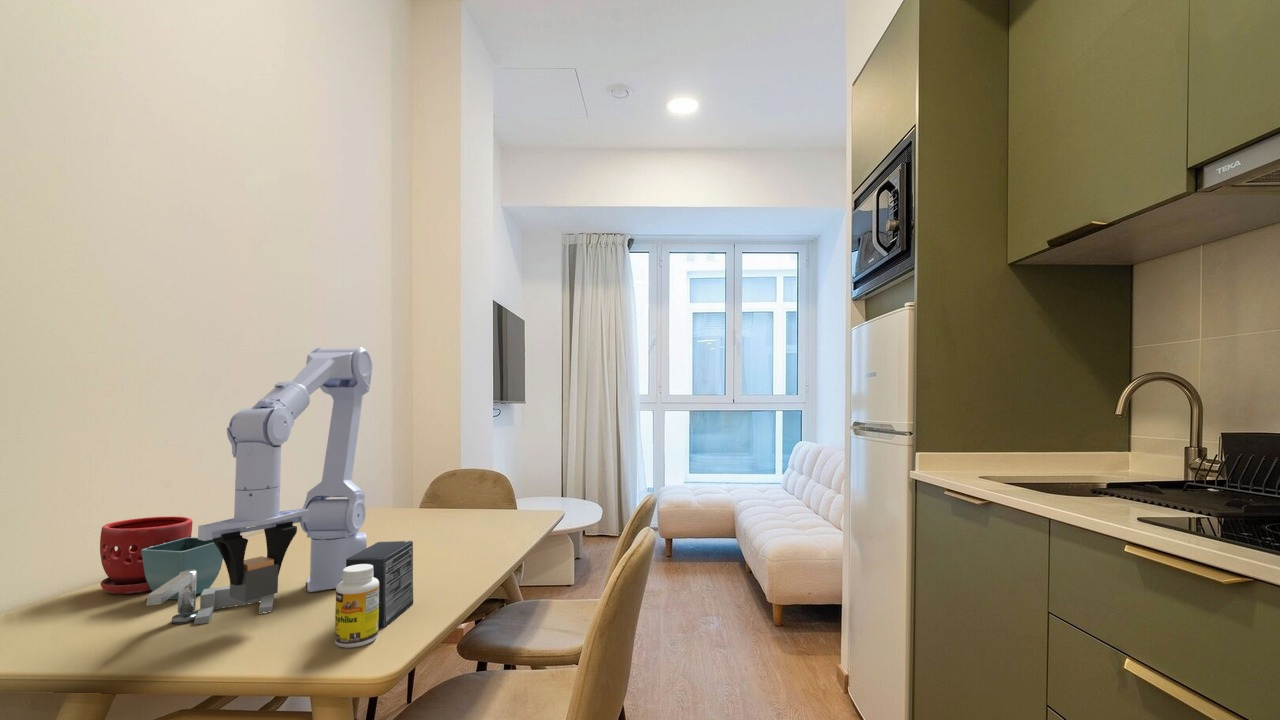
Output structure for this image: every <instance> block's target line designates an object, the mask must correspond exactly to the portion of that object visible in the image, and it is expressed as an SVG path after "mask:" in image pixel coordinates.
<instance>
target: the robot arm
mask: <svg viewBox="0 0 1280 720" xmlns="http://www.w3.org/2000/svg"><path fill="white" fill-rule="evenodd" d="M372 374H373V361H372V358H371V355H370V353H369V351H368V350H367V349H366V348H364V347H357V348H355V347H354V348H352V347H351V348H321V347H315V348H314V349H312V350H311V352H310V353H308V354H307V356H306V364H305V366H304V367H303V368H302V369H301V370H300V372H298V374H297V375H296V376H295V378H293V379H292V381H287V380H285V381H278V382H277V383H275V384H274V388H273V389H271V390H269V392H268V393H267V394H266V395H265V396H263V397H262V398H260V399H259V400H258V401H257V403H255V404H254V405H253V406H252V407H251V408H241V409H240V410H239V411H238V412H236V413H234V414H233V415H232V417H231V418H230V420H229V423H228V426H227V427H226V435H227V439H228V441H229V443H230V445H231V454H232V457H233V458H235V477H234V478H235V480H234V482H235V483H234V511H233V513H234V516H233V517H232V518H228V519H224V520H219V521H216V522H211V523H207V524H201V525H198V528H197V530H198V531H197V538H198V539H199V540H203V541H207V540H212V539H213V541H214V544H215V545H216V546H217V548H218V550H219V551H220V553H221V555H222V557H223V561H224V564H225V567H226V571H227V573H228V574H227V575H228V578H229V585H230V584H232V585H236V586H238V585H242V582H243V571H244V560H245V556H246V555H245V554H246V550H247V547H248V546H247V545H248V542H249V539H247V538H245V537H243V535H242V534H244V533H249V532H253V531H259V530H264V531H263V532H264V536H265V543H266V557H267V558H270V559H274V563H275V564H278V576H279V575H280V572H281V567H282V563H283V561H284V558H285V555H286V553H287V551H288V549H289V546H290V544H291V543H292V541H293V539H294V538H295V536H296V534H297V533H298V527H297V526H296V525H294V524H298V523H299V524H300V527H301V529H302V531H303V532H304V533H305V534H306V538H309V539H310V567H309V569H310V570H309V578H307V580H306V581H307V582H306V583H307V585H306V586H307V588H306V589H307V592H308V593H315V592H321V591H326V590H327V591H328V590H333V589H336V587H337V585H338V584H339V583H340V582H342V581H343V580H342V579H343V578H342V576H343V569H344V568H346V559H347V558H349V557H351V556H353V555H355V554H357V553H359V552H361V551H362V550H364V549H366V548H368V545H367V534H366V532H364V531H363V532H361V531H360V530H361V528H362V527H363V525H364V523H365V520H366V515H367V512H366V511H367V510H366V503H365V502H366V501H365V499H366V494H365V492H364V491H363V490H362V488H360V487H359V486H357V485H356V484H355V483H354V482H353V481H352V480H353V475H354V473H353V472H354V466H355V459H356V452H357V444H358V436H359V429H360V422H361V415H362V414H361V413H362V407H363V398H364V395H366V394H368V392H370V386H371V382H372ZM318 389H320V390H321V391H322V392H323V393H324V394H327V395H328V396H331V399H332V400H333V402H332V408H331V409H332V410H331V417H330V422H329V423H330V424H329V430H328V437H327V443H326V449H325V455H324V456H325V458H324V464H323V472H322V478H321V481H320V482H319V483H318V484H316V485H314V487H312V488H311V489H310V490H308V491H307V493H306V498H305V501H304V504H303V506H302V507H301V508H297V509H289V510H281V511H280V506H281V505H280V504H281V503H280V499H281V497H280V496H281V471H282V470H281V468H282V467H281V464H282V445H283V444H284V443H285V442H287V441H288V439H289V438H290V435H291V432H292V428H293V426H294V424H295V420H297V418H298V417H299V416H300V415H302V413H304V412H305V410H306V409H307V408H308V407H309V405H310V402H311V398H310V397H311V396H310V395H312V394H313V393H315V391H317V390H318ZM329 498H331V499H329ZM332 498H333V499H332ZM334 498H335V499H334ZM359 531H360V532H359Z"/></svg>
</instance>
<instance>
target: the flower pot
mask: <svg viewBox="0 0 1280 720" xmlns="http://www.w3.org/2000/svg"><path fill="white" fill-rule="evenodd" d="M141 551H142V559H143V566H144V573H145V577H146V580H147V583H148V585H149V587H150V588H151V592H153V591H155V590H156V589H158V588H159V587H161V586H162V585H164V584H165V583H167V582H168V581H170V580H172V579H173V578H175V577H176V576H178V575H179V572H182V571H185V570H197V577H196V595H199V594H202V592H203V590H204V589H209V588H211V586H212V585H214V583H215V581H216V579H217V578H218V576H219V574H220V572H221V569H222V565H223V561H224V559H223V557H222V555H221V553H220V551H219V550H218V548H217V546H216V545H215V544H214V541H213V539H212V540H207V541H203V540H199V539H198V537H196V536H195V537H192V536H191V537H188V538H183V539H179V540H176V541H172V542H168V543H164V544H160V545H157V546H151V547H149V548H145V549H142V550H141ZM168 600H176V601H178V592H177V593H176V594H174V595H173V596H172V597H170V598H169V599H168Z"/></svg>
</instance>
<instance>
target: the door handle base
mask: <svg viewBox="0 0 1280 720" xmlns="http://www.w3.org/2000/svg"><path fill="white" fill-rule="evenodd" d="M198 611H199V610H194V611H191V612H188V613H177V614H175V615H173V616H172V617H171V622H172V623H171V624H172V625H183V624H190V623H192V622H195V617H196V615H197V613H198Z"/></svg>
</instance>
